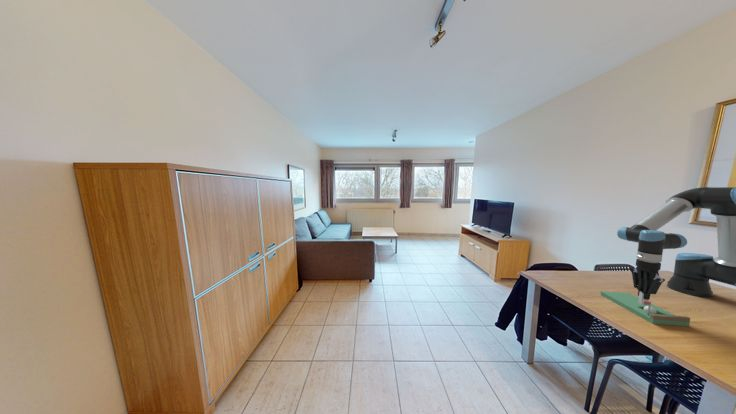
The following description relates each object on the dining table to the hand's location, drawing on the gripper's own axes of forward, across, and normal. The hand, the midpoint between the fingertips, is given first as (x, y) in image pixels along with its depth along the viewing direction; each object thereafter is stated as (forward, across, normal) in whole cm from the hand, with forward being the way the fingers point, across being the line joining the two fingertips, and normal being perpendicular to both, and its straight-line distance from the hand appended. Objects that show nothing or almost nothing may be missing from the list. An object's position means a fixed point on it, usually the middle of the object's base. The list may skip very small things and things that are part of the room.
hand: (642, 303), depth 107 cm
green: (+3, -1, 0) cm, 3 cm away
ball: (+1, +4, 0) cm, 4 cm away
